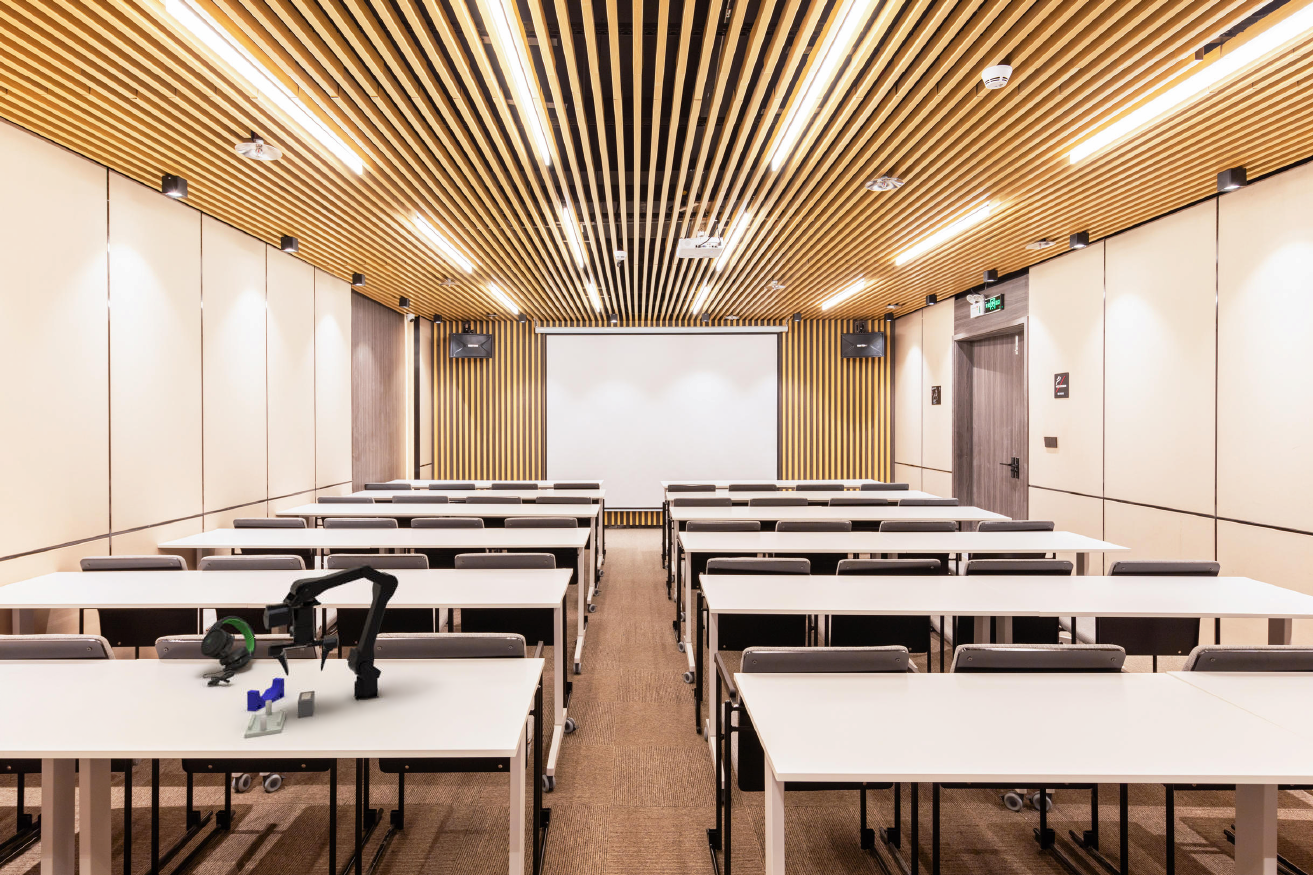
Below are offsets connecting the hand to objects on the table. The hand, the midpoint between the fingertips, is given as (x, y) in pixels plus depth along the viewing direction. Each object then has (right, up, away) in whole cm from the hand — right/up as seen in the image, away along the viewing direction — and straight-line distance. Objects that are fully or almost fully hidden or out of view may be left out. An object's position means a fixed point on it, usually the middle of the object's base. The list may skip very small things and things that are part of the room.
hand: (304, 672), depth 210 cm
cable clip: (-16, -12, +7) cm, 21 cm away
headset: (-42, -12, +34) cm, 55 cm away
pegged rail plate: (-6, -12, -10) cm, 17 cm away
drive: (+1, -12, 0) cm, 12 cm away
